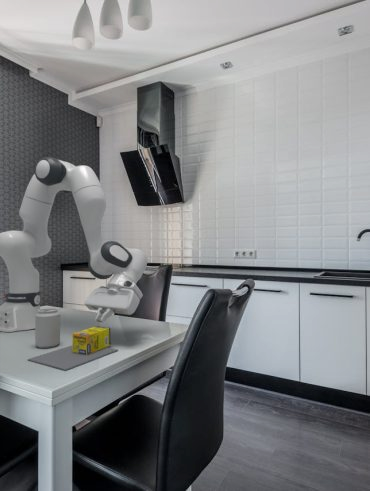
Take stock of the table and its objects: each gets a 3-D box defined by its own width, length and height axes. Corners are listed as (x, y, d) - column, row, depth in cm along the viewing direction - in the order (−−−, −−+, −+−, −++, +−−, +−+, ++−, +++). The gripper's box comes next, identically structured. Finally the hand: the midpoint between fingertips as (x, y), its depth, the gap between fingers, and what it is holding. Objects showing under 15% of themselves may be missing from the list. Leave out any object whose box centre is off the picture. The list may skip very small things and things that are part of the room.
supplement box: (110, 327, 109) (87, 335, 99) (111, 345, 109) (87, 355, 99) (96, 325, 111) (71, 333, 102) (96, 343, 111) (72, 353, 102)
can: (46, 341, 115) (46, 306, 115) (64, 343, 113) (64, 307, 113) (30, 348, 108) (30, 310, 108) (49, 350, 106) (49, 311, 106)
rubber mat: (82, 343, 113) (82, 342, 113) (118, 350, 105) (118, 349, 105) (27, 360, 96) (27, 359, 96) (65, 371, 88) (65, 369, 88)
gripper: (93, 280, 121) (71, 312, 112) (138, 283, 110) (118, 318, 102) (102, 291, 125) (82, 323, 116) (146, 295, 114) (127, 330, 106)
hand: (99, 321), depth 109 cm, fingers closed
